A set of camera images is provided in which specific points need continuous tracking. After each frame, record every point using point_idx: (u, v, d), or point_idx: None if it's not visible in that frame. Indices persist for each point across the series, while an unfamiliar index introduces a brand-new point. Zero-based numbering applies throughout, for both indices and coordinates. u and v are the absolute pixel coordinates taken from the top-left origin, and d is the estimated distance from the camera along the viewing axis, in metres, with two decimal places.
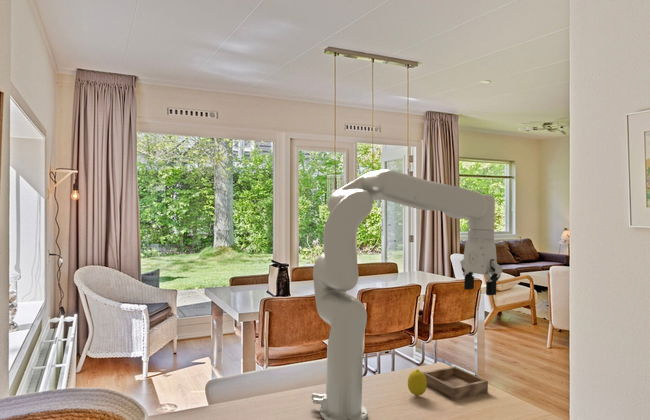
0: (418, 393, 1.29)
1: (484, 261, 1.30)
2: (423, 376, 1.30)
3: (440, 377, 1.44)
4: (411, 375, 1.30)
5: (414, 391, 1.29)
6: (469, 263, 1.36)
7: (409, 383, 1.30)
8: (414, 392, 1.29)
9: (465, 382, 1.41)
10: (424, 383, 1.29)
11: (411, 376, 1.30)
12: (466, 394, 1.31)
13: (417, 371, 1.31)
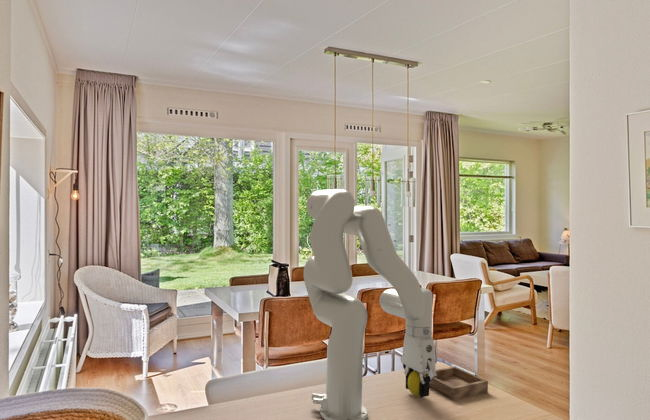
0: (418, 393, 1.29)
1: None
2: None
3: (440, 377, 1.44)
4: (411, 375, 1.30)
5: (414, 391, 1.29)
6: None
7: (409, 383, 1.30)
8: (414, 392, 1.29)
9: (465, 382, 1.41)
10: None
11: (411, 376, 1.30)
12: (466, 394, 1.31)
13: None
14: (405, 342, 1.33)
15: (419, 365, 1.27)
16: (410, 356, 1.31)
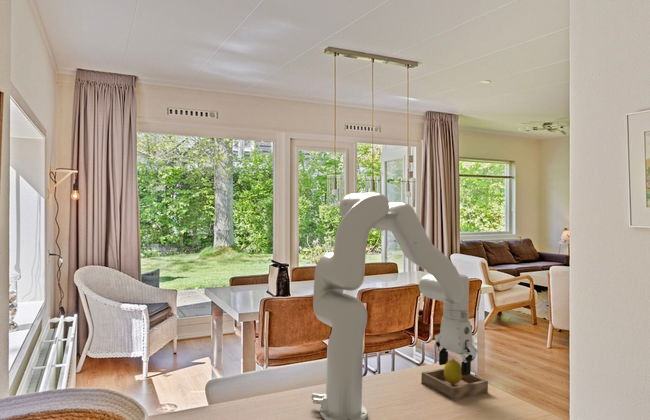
0: (454, 381, 1.36)
1: None
2: (459, 365, 1.37)
3: (440, 377, 1.44)
4: (447, 364, 1.38)
5: (451, 380, 1.36)
6: None
7: (445, 372, 1.38)
8: (450, 380, 1.37)
9: (465, 382, 1.41)
10: (460, 372, 1.37)
11: (447, 365, 1.38)
12: (466, 394, 1.31)
13: (453, 360, 1.38)
14: (443, 325, 1.40)
15: (457, 346, 1.35)
16: (448, 338, 1.38)
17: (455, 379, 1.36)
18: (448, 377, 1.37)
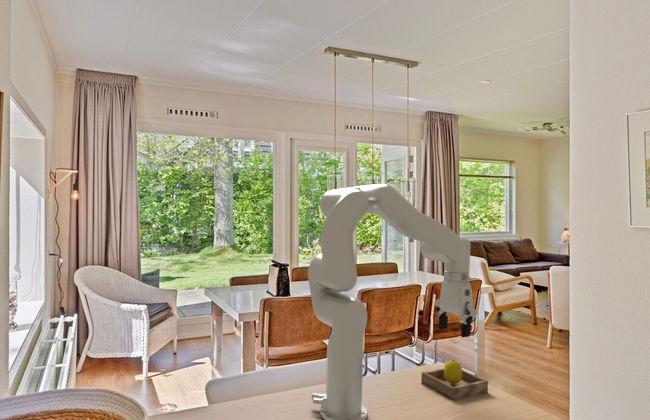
0: (454, 381, 1.36)
1: None
2: (459, 365, 1.37)
3: (440, 377, 1.44)
4: (447, 364, 1.38)
5: (451, 380, 1.36)
6: None
7: (445, 372, 1.38)
8: (450, 380, 1.37)
9: (465, 382, 1.41)
10: (460, 372, 1.37)
11: (447, 365, 1.38)
12: (466, 394, 1.31)
13: (453, 361, 1.38)
14: (443, 288, 1.40)
15: (457, 308, 1.34)
16: (448, 301, 1.38)
17: (455, 379, 1.36)
18: (448, 377, 1.37)
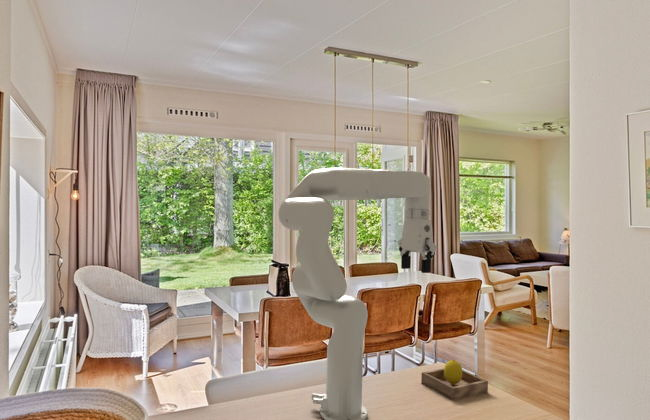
0: (454, 381, 1.36)
1: None
2: (459, 366, 1.37)
3: (440, 377, 1.44)
4: (447, 364, 1.38)
5: (451, 380, 1.36)
6: None
7: (445, 372, 1.38)
8: (450, 380, 1.37)
9: (465, 382, 1.41)
10: (460, 372, 1.36)
11: (447, 365, 1.38)
12: (466, 394, 1.31)
13: (453, 361, 1.38)
14: (404, 227, 1.39)
15: (417, 244, 1.34)
16: (409, 239, 1.37)
17: (455, 379, 1.36)
18: (448, 377, 1.37)
